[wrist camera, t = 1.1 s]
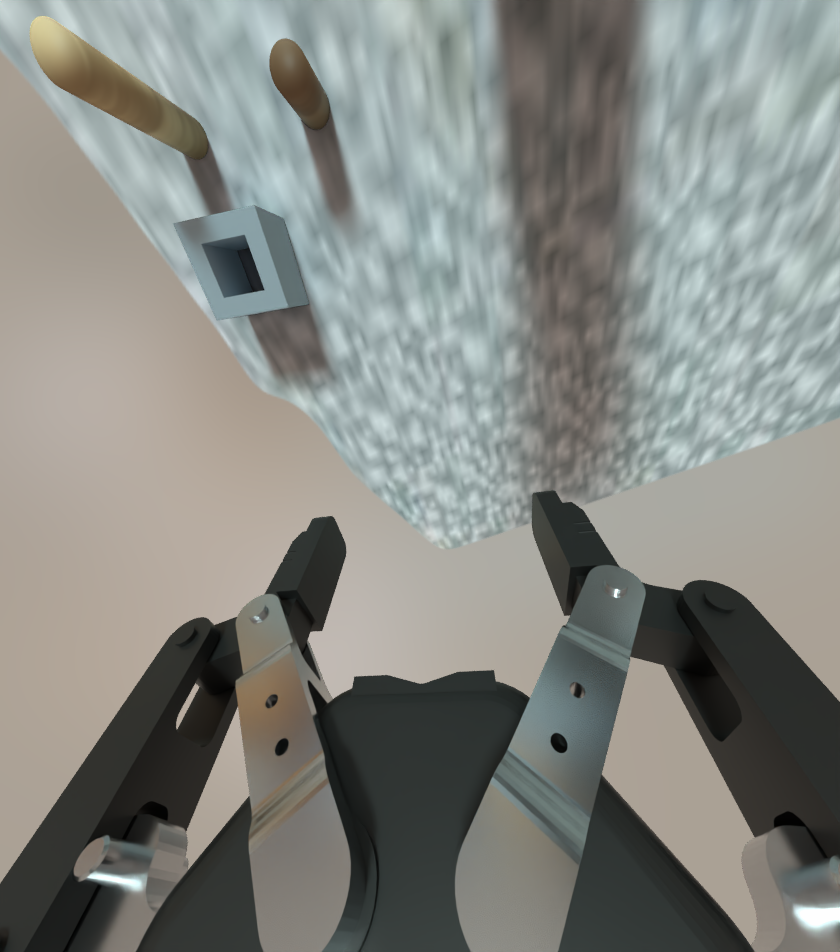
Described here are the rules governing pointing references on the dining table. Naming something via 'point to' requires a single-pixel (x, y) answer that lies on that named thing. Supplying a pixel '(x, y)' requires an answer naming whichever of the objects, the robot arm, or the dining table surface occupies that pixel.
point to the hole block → (222, 269)
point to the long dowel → (112, 88)
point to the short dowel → (299, 83)
